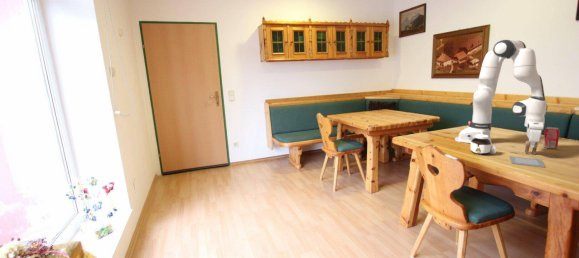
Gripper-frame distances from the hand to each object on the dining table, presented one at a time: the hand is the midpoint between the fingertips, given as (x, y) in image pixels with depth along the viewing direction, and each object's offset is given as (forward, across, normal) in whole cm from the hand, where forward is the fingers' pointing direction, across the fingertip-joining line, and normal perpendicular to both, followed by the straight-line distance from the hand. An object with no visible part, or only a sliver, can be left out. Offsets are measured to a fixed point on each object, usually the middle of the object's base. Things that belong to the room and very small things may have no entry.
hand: (531, 145), depth 172 cm
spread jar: (+5, +11, -24) cm, 27 cm away
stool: (+5, 0, 0) cm, 5 cm away
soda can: (+5, -20, +12) cm, 24 cm away
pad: (+5, +20, -4) cm, 21 cm away
